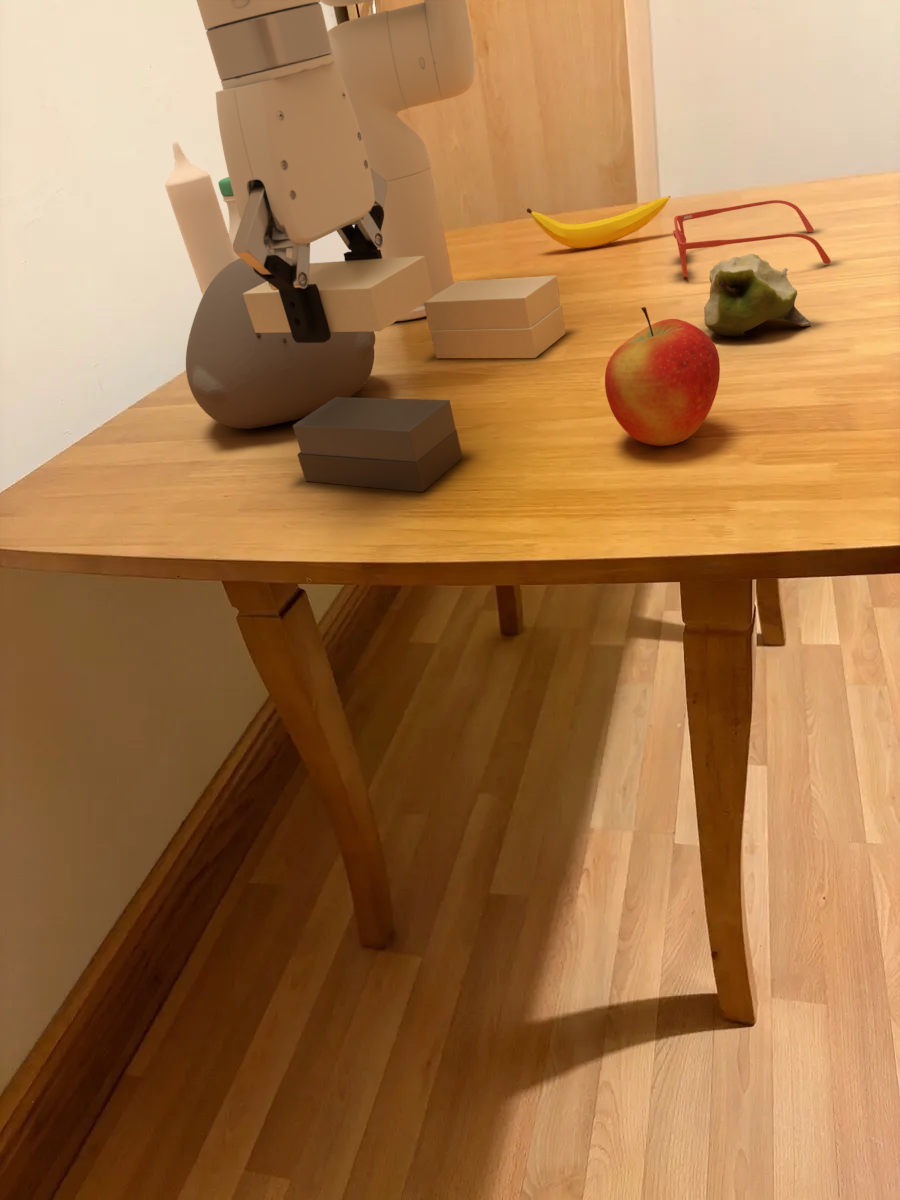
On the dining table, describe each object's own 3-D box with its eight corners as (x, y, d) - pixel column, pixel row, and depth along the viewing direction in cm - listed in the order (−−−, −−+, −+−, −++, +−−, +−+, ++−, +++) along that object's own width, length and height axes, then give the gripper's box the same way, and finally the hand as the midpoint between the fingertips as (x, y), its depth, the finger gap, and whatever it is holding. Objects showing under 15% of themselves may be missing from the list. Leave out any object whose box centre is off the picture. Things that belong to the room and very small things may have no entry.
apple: (701, 465, 63) (692, 324, 58) (595, 459, 67) (578, 327, 62) (736, 418, 68) (732, 285, 63) (636, 414, 73) (624, 290, 67)
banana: (672, 238, 119) (669, 186, 115) (531, 259, 124) (524, 211, 121) (673, 232, 121) (670, 182, 117) (535, 254, 127) (528, 206, 123)
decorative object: (358, 360, 101) (321, 220, 93) (406, 403, 86) (367, 241, 78) (198, 410, 97) (145, 269, 89) (219, 464, 82) (158, 300, 74)
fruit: (753, 366, 80) (731, 280, 76) (690, 353, 88) (666, 275, 84) (834, 316, 81) (816, 229, 77) (764, 308, 89) (745, 229, 85)
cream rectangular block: (255, 333, 68) (242, 293, 67) (311, 301, 73) (301, 263, 71) (380, 331, 62) (369, 287, 60) (433, 297, 66) (425, 255, 65)
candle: (297, 373, 101) (223, 129, 88) (267, 398, 96) (184, 141, 83) (244, 378, 104) (165, 141, 91) (213, 402, 98) (124, 154, 85)
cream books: (434, 358, 96) (422, 302, 93) (468, 335, 100) (457, 280, 97) (535, 358, 89) (526, 297, 86) (566, 333, 94) (558, 275, 91)
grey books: (305, 481, 75) (287, 425, 72) (348, 450, 79) (332, 396, 76) (422, 492, 68) (408, 432, 66) (462, 457, 72) (450, 399, 70)
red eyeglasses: (675, 251, 113) (672, 208, 110) (812, 229, 108) (812, 184, 106) (675, 290, 99) (672, 243, 96) (832, 267, 94) (833, 217, 92)
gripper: (311, 40, 66) (371, 285, 75) (134, 85, 54) (232, 366, 64) (393, 21, 62) (446, 282, 71) (221, 64, 50) (311, 367, 60)
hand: (344, 320), depth 67 cm, fingers closed on cream rectangular block, 7 cm apart
